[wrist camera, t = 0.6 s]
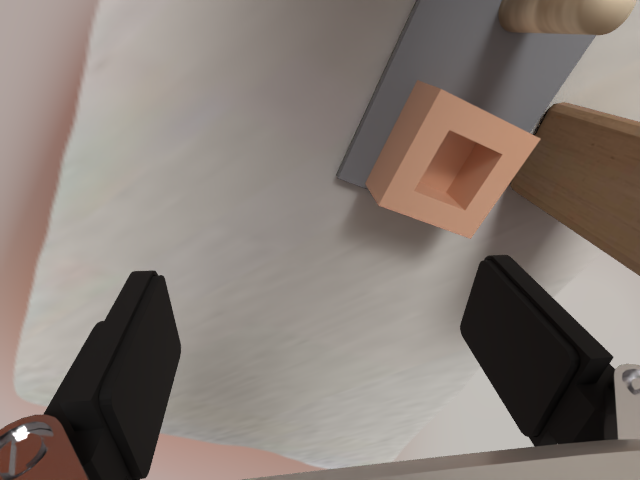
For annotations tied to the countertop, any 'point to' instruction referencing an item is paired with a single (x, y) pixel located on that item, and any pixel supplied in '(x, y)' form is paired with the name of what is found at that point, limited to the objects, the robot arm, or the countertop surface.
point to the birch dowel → (564, 16)
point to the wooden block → (588, 178)
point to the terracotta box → (447, 161)
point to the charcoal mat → (464, 72)
